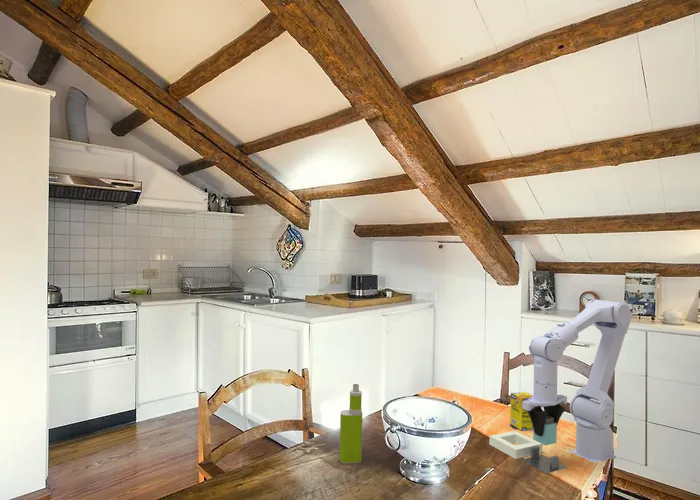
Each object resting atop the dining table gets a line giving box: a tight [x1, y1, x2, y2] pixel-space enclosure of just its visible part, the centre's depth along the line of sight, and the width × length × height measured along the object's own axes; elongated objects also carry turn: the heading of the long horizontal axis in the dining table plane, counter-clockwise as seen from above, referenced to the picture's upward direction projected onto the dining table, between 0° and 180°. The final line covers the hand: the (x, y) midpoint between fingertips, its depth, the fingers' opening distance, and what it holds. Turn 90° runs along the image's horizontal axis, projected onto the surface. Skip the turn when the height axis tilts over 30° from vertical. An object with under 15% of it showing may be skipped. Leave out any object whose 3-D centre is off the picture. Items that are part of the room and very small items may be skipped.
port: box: [488, 430, 543, 460], centre depth 124 cm, size 10×10×3 cm
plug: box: [532, 415, 558, 446], centre depth 115 cm, size 4×4×7 cm
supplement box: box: [509, 391, 533, 432], centre depth 141 cm, size 6×6×11 cm
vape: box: [339, 383, 363, 464], centre depth 116 cm, size 4×6×20 cm, turn 98°
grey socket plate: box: [521, 446, 569, 474], centre depth 115 cm, size 8×8×4 cm
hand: (544, 433), depth 115 cm, fingers closed on plug, 4 cm apart
